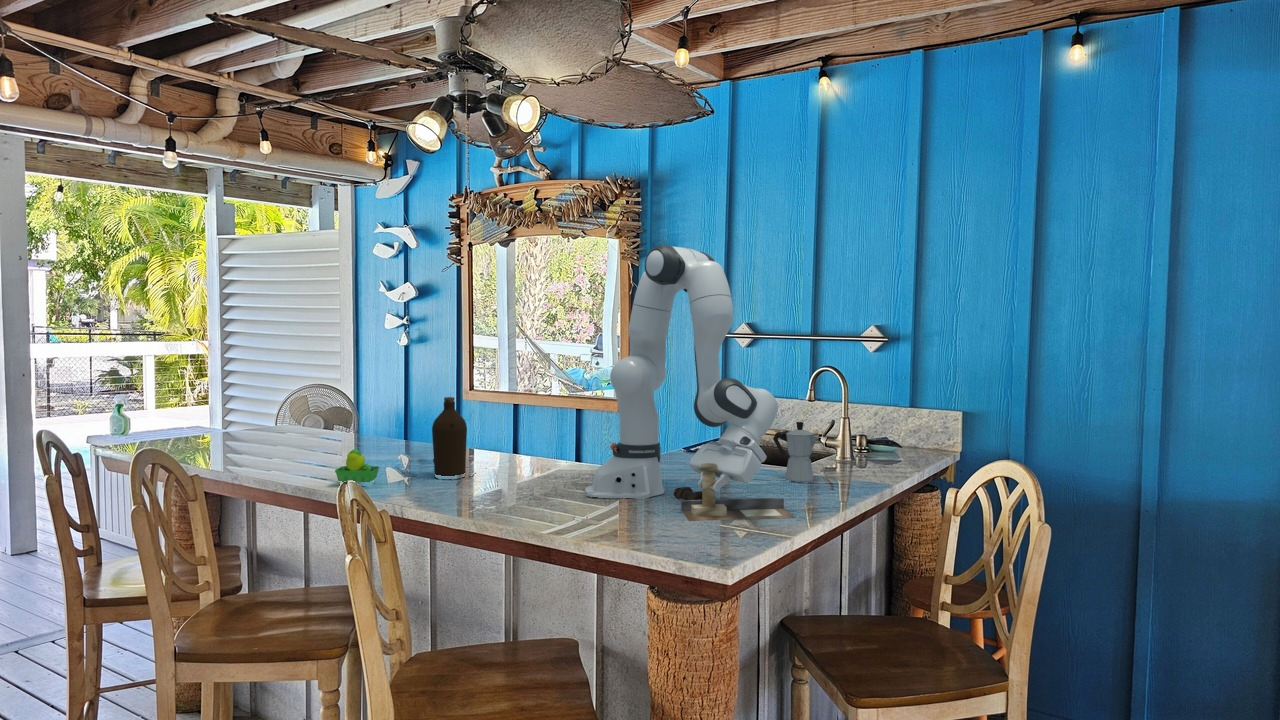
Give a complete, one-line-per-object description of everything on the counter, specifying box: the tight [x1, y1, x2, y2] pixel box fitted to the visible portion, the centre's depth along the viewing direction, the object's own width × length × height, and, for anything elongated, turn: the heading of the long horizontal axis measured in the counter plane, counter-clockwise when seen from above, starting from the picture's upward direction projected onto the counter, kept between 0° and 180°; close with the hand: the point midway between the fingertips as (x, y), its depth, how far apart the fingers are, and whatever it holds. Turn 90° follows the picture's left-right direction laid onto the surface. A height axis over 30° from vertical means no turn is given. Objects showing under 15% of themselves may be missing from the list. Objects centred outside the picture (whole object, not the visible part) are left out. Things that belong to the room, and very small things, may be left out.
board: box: [680, 497, 796, 522], centre depth 204 cm, size 26×12×4 cm, turn 97°
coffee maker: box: [772, 421, 820, 483], centre depth 255 cm, size 15×9×18 cm, turn 59°
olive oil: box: [431, 396, 468, 476], centre depth 259 cm, size 11×11×25 cm
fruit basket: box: [334, 448, 380, 483], centre depth 246 cm, size 11×9×11 cm
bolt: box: [673, 486, 702, 500], centre depth 220 cm, size 6×5×15 cm
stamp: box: [691, 463, 727, 517], centre depth 203 cm, size 8×4×12 cm, turn 97°
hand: (706, 488), depth 203 cm, fingers closed on stamp, 3 cm apart
